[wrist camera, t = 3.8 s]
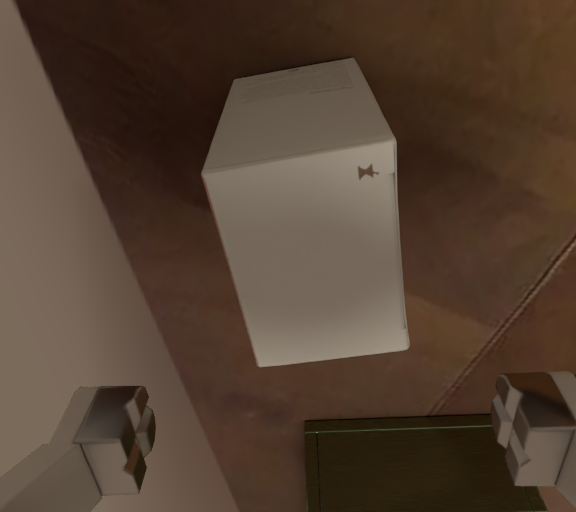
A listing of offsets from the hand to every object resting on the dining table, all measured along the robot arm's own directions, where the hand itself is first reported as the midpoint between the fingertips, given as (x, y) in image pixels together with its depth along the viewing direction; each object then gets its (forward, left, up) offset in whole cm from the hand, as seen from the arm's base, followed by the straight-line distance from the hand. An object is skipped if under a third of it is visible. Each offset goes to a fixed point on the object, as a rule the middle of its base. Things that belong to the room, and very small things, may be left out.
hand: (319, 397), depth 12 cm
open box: (+6, -26, -15) cm, 31 cm away
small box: (0, 0, -16) cm, 16 cm away
